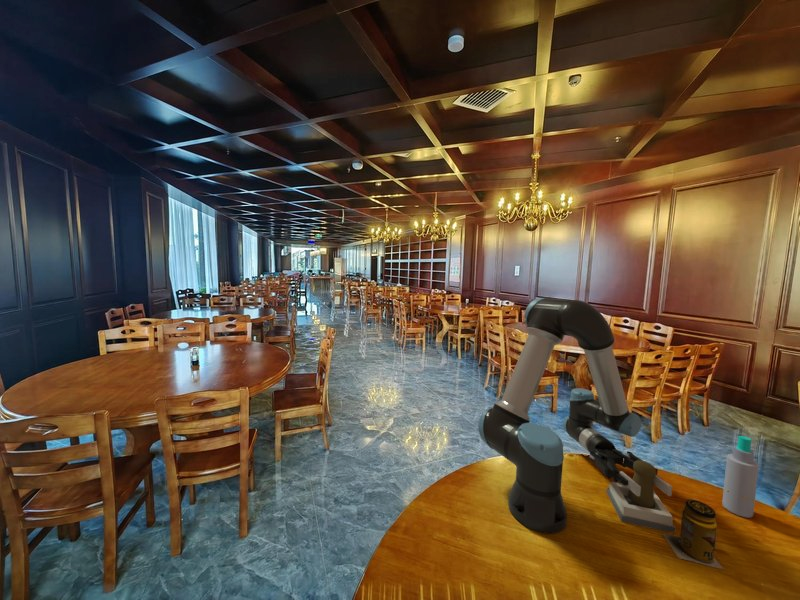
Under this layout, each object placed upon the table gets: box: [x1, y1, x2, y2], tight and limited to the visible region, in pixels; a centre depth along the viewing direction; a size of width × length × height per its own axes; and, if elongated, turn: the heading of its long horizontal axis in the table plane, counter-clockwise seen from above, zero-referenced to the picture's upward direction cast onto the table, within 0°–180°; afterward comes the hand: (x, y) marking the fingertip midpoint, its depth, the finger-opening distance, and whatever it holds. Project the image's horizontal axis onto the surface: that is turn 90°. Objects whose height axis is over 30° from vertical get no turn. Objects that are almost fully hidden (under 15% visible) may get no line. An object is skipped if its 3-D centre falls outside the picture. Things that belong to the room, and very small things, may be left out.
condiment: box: [662, 498, 724, 569], centre depth 74 cm, size 7×8×12 cm
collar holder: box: [606, 481, 676, 534], centre depth 87 cm, size 12×12×4 cm
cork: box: [628, 459, 657, 508], centre depth 87 cm, size 6×6×11 cm
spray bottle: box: [721, 435, 760, 519], centre depth 87 cm, size 6×6×22 cm
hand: (654, 491), depth 82 cm, fingers open, 8 cm apart
